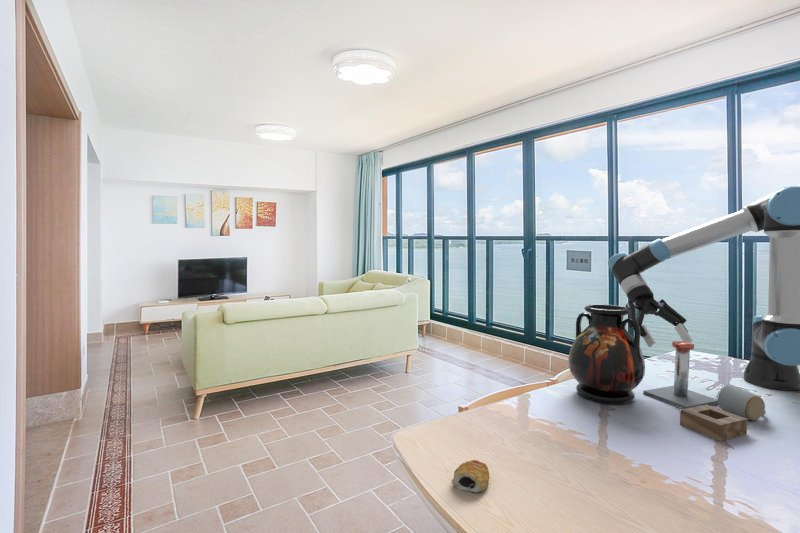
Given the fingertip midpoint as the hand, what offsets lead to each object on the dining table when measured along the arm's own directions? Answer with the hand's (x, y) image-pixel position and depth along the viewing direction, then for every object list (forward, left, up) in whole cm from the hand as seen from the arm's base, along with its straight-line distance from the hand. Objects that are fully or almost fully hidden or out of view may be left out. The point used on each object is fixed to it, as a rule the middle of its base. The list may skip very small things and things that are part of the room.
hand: (671, 343), depth 134 cm
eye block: (+14, +22, -16) cm, 31 cm away
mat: (+1, +4, -16) cm, 17 cm away
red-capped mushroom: (+1, +4, -15) cm, 16 cm away
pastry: (+84, +21, -16) cm, 88 cm away
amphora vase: (+21, -6, -16) cm, 27 cm away
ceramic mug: (-4, +19, -16) cm, 25 cm away
